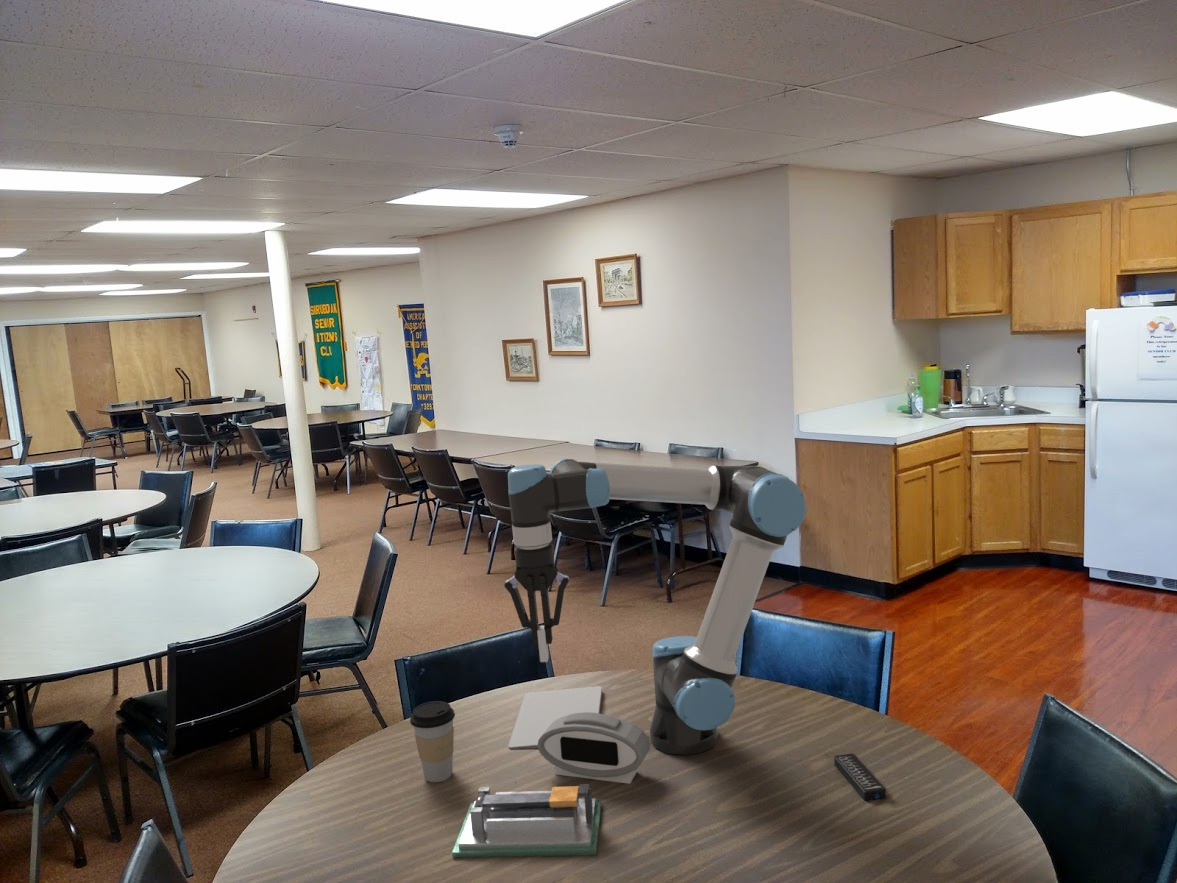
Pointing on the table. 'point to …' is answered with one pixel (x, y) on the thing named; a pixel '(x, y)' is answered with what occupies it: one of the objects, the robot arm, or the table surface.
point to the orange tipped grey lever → (532, 799)
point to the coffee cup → (434, 739)
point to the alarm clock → (594, 747)
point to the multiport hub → (860, 777)
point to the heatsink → (530, 829)
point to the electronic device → (550, 712)
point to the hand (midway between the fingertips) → (544, 659)
